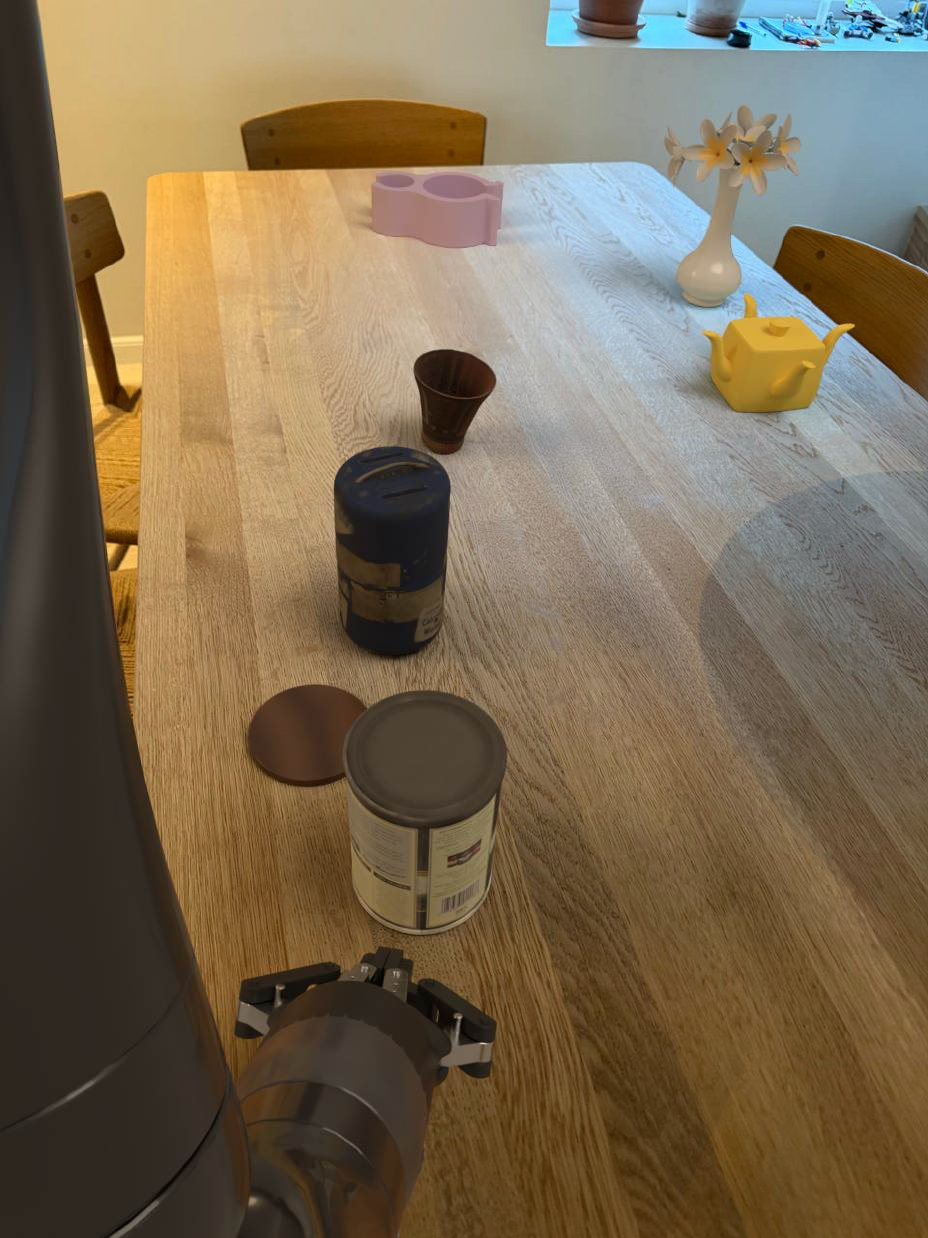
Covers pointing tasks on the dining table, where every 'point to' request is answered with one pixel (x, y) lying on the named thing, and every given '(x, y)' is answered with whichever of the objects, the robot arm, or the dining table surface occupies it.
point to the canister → (391, 547)
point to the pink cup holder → (437, 207)
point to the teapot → (769, 361)
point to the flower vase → (727, 194)
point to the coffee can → (423, 808)
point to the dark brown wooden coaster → (304, 734)
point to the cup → (450, 395)
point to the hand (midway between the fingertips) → (388, 965)
